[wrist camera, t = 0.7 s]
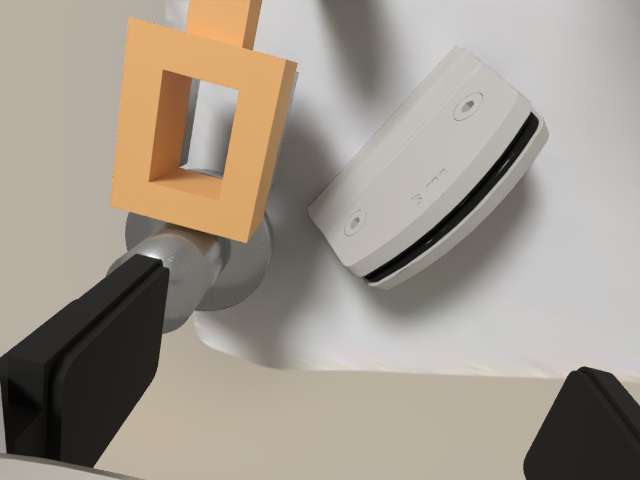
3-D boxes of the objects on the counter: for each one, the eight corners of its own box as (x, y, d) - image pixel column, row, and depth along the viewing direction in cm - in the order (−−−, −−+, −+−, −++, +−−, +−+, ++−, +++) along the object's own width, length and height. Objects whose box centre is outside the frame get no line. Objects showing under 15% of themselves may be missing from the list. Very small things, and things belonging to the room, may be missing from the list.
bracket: (262, 220, 30) (246, 243, 26) (145, 188, 30) (110, 206, 26) (309, 7, 26) (300, -7, 21) (172, -31, 26) (135, -53, 21)
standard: (269, 287, 39) (224, 393, 26) (156, 257, 39) (52, 348, 26) (320, 77, 33) (295, 74, 20) (187, 40, 33) (72, 13, 20)
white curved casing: (459, 40, 31) (545, 72, 23) (497, 85, 34) (587, 129, 25) (303, 212, 36) (327, 289, 28) (345, 241, 39) (378, 320, 30)
